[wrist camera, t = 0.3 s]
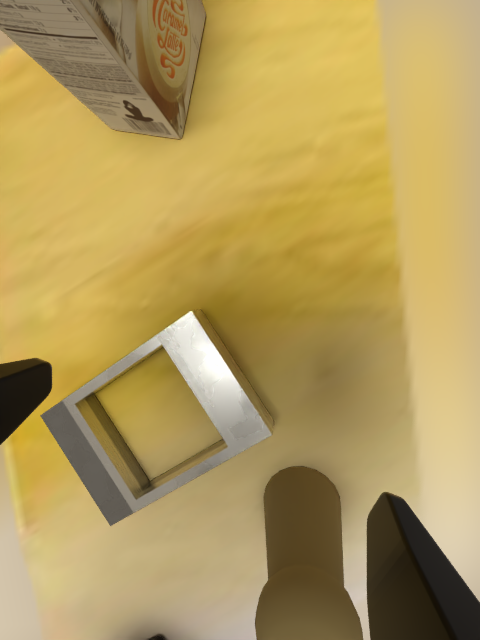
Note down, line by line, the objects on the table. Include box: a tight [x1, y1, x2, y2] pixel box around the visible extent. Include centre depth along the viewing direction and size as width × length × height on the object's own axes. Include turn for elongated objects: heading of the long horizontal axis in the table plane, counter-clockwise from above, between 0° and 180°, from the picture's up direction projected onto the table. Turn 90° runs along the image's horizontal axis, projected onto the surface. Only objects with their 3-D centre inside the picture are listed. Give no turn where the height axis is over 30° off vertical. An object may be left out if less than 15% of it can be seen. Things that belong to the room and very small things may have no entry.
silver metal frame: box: [40, 309, 274, 526], centre depth 24 cm, size 16×11×2 cm
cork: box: [255, 467, 363, 640], centre depth 19 cm, size 6×6×11 cm
